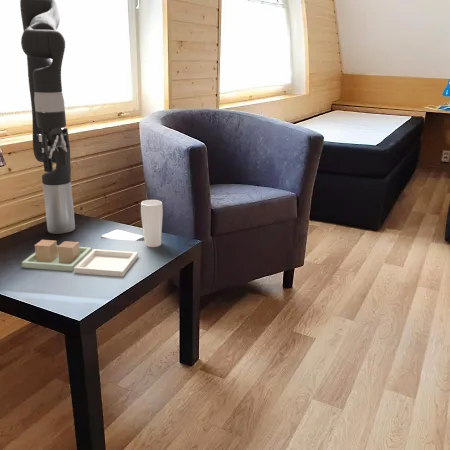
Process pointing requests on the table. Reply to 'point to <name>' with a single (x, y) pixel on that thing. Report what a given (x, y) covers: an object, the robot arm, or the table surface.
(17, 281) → the table surface
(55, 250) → the tan boxy piece
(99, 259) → the tray
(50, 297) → the table surface
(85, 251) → the tray
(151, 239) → the drinking glass
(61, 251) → the tan block
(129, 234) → the external hard drive
